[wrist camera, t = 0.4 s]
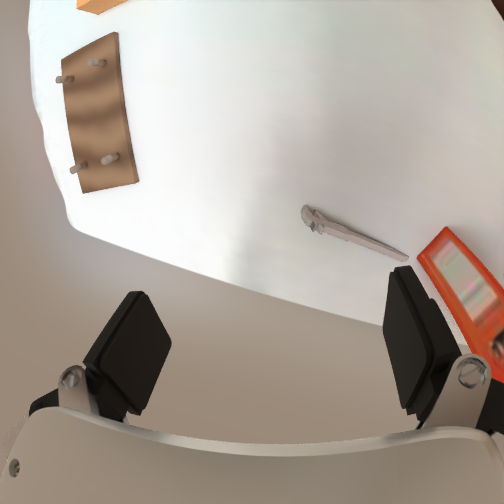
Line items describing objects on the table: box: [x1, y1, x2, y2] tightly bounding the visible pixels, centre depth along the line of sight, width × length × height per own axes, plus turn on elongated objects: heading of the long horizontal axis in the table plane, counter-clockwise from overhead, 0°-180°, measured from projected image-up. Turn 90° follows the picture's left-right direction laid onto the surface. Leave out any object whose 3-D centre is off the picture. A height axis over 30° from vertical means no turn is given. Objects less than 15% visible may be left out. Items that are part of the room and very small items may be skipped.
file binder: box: [417, 227, 504, 383], centre depth 26 cm, size 8×17×32 cm, turn 56°
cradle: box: [56, 32, 139, 194], centre depth 32 cm, size 26×12×5 cm, turn 6°
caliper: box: [301, 206, 409, 262], centre depth 37 cm, size 20×1×6 cm, turn 69°
